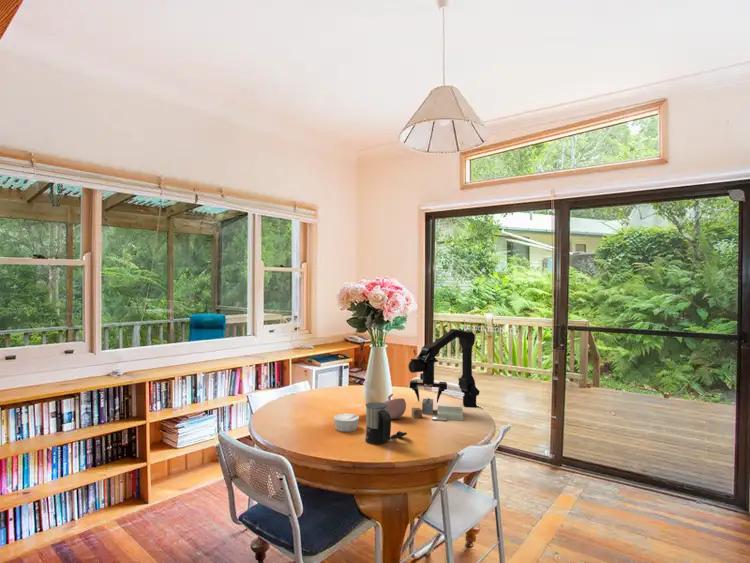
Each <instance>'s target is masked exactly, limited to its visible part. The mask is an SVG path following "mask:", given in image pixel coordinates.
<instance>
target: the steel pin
mask: <svg viewBox="0 0 750 563" xmlns="http://www.w3.org/2000/svg"><path fill="white" fill-rule="evenodd" d="M431 418H432V419H431V420H432V421H433V422H435V421H437V422H448V420H447V418H439V417H438V416H437V417H435V416H432V417H431Z"/></svg>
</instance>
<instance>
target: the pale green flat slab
mask: <svg viewBox="0 0 750 563" xmlns="http://www.w3.org/2000/svg"><path fill="white" fill-rule="evenodd" d="M437 417H439V418H447V421H450V420H451V421H452V420H453V421H464V412H463V407H462V406H451V405H450V406H449V405H447V406H446V405H438V406H437Z"/></svg>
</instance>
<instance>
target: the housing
mask: <svg viewBox="0 0 750 563" xmlns="http://www.w3.org/2000/svg"><path fill="white" fill-rule="evenodd" d="M421 405H422V406H421V409H422V415H431V414H433V415H434V399H433V398H430V397H426V398H422V403H421Z"/></svg>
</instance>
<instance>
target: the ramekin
mask: <svg viewBox="0 0 750 563" xmlns="http://www.w3.org/2000/svg"><path fill="white" fill-rule="evenodd" d="M333 420H334V427H335V429H336V430H337V431H338V432H342V433H349V432H353V431H356V430H357V429H358V424H359V420H360V416H359V415H357V414H354V413H346V412H344V413H339V414H335V415H334V416H333Z"/></svg>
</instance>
